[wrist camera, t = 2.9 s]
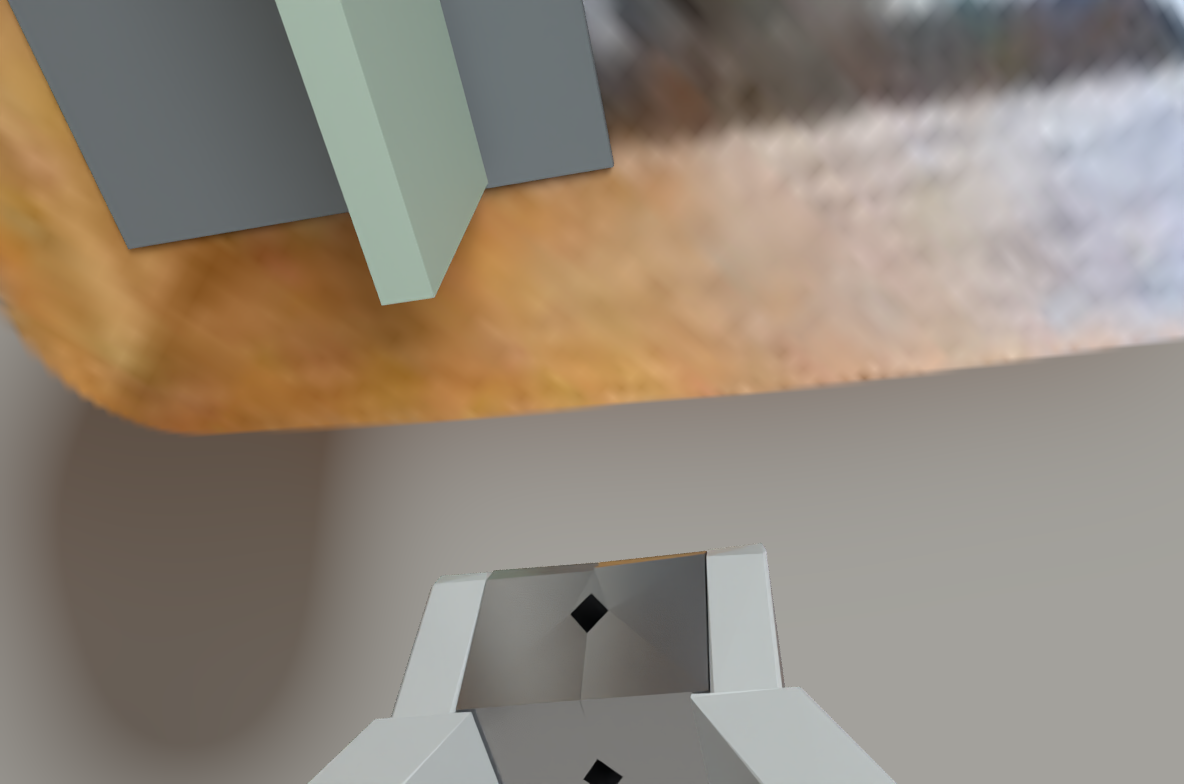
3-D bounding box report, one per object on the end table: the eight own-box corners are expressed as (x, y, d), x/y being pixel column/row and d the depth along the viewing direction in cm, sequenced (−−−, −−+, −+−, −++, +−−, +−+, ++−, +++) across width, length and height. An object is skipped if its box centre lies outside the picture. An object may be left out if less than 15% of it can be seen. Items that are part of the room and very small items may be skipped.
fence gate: (339, -180, 22) (217, -164, 16) (388, -192, 22) (283, -180, 16) (446, 189, 27) (381, 305, 21) (488, 182, 27) (434, 297, 21)
